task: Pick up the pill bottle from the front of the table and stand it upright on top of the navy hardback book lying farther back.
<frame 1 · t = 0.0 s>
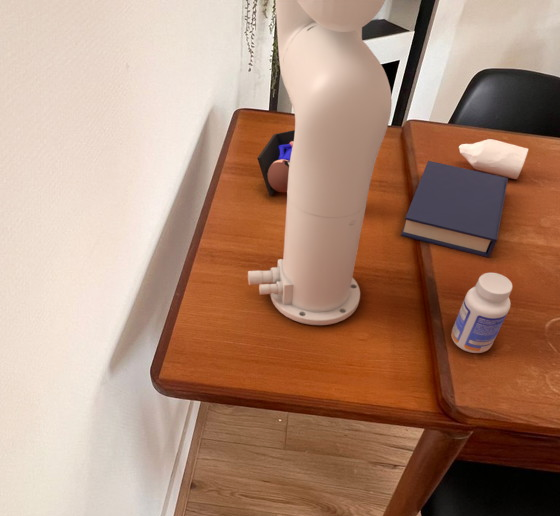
book: (453, 214, 90), on the table
roll: (484, 171, 101), on the table
pill bottle: (470, 340, 70), on the table
character figurine: (284, 182, 95), on the table
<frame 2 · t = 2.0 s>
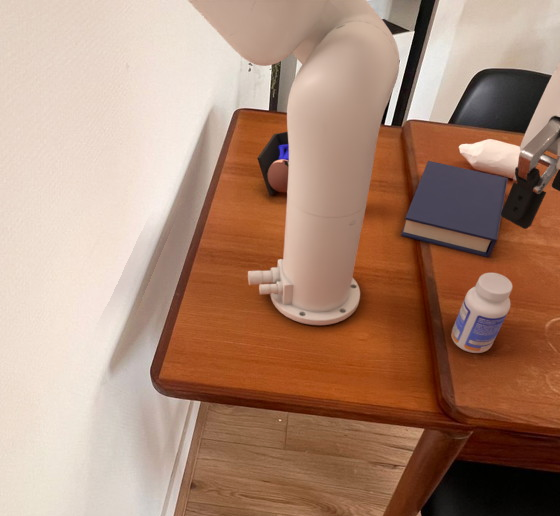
hand: (540, 206, 56), 19 cm above the table, tool pointing down, fingers open, 9 cm apart
nothing on the table moved.
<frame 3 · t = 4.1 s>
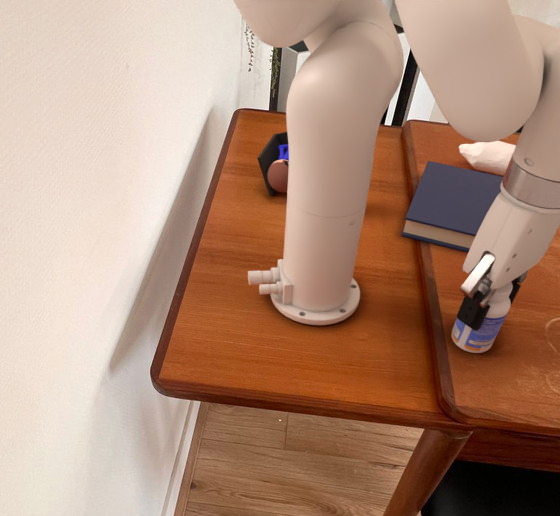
hand: (483, 312, 66), 5 cm above the table, tool pointing down, fingers closed on pill bottle, 5 cm apart
pill bottle: (470, 340, 70), on the table, touching gripper
everything else where it was.
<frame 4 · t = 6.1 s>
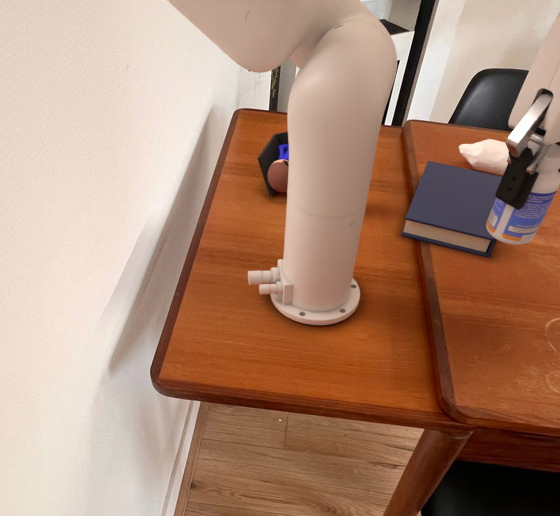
hand: (526, 192, 56), 20 cm above the table, tool pointing down, fingers closed on pill bottle, 5 cm apart
pill bottle: (507, 233, 60), point 15 cm above the table, touching gripper
everything else where it was.
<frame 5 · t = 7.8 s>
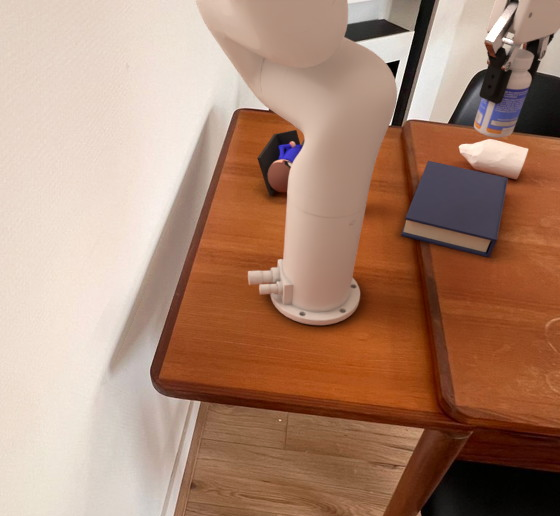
hand: (504, 93, 70), 22 cm above the table, tool pointing down, fingers closed on pill bottle, 5 cm apart
pill bottle: (491, 131, 74), point 16 cm above the table, touching gripper
everything else where it was.
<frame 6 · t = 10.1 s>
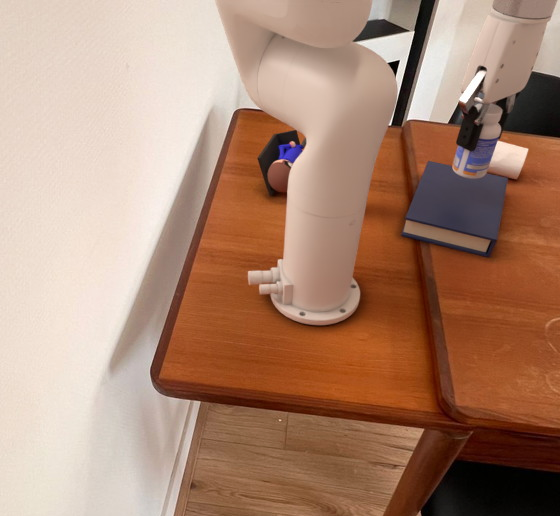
hand: (478, 140, 80), 13 cm above the table, tool pointing down, fingers closed on pill bottle, 5 cm apart
pill bottle: (467, 172, 84), point 8 cm above the table, touching gripper
everything else where it was.
when the fingers open (8 cm above the table, at t = 11.7 s): pill bottle stays where it is, resting on book.
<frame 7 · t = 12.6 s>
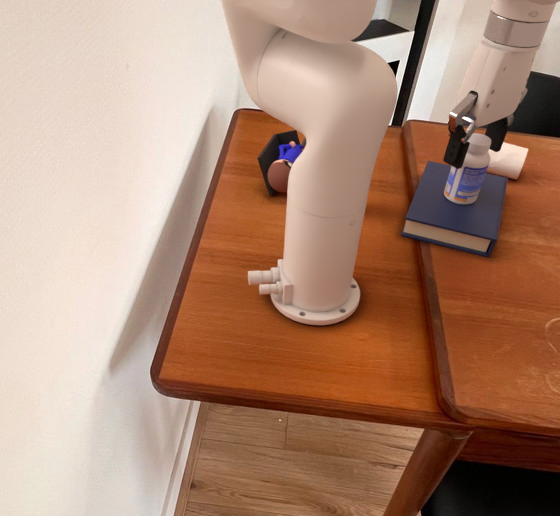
hand: (471, 156, 82), 10 cm above the table, tool pointing down, fingers open, 9 cm apart
pill bottle: (459, 197, 87), point 3 cm above the table, touching book
everything else where it was.
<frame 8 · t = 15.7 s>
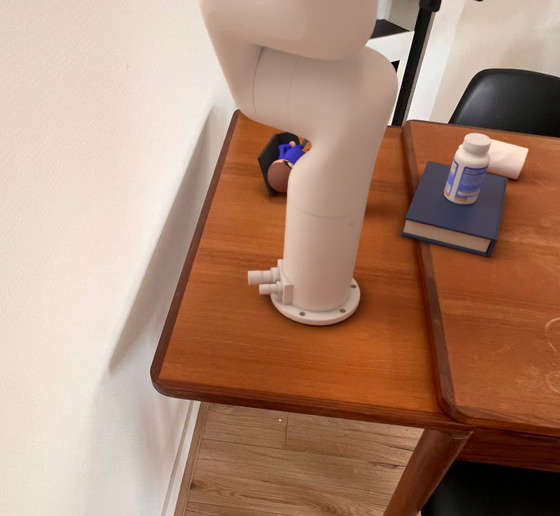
hand: (451, 4, 73), 28 cm above the table, tool pointing down, fingers open, 9 cm apart
nothing on the table moved.
at the end: pill bottle inside the target area on the book (0.1 cm from its centre), point 3.2 cm above the book's base; pill bottle tilted 0°; the gripper is holding nothing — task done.
